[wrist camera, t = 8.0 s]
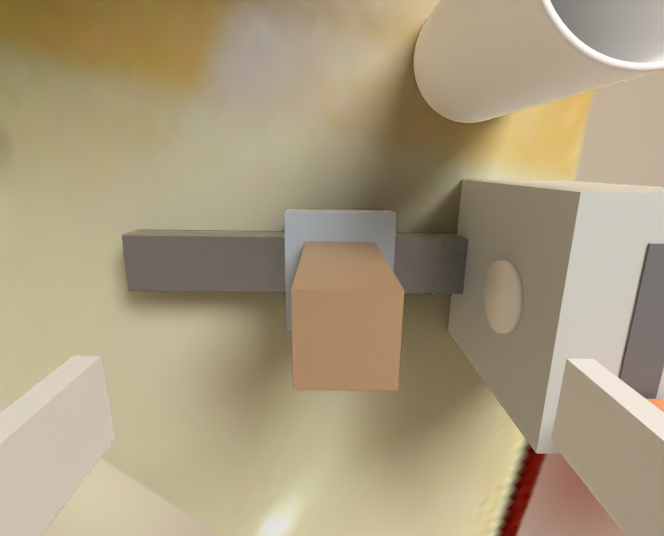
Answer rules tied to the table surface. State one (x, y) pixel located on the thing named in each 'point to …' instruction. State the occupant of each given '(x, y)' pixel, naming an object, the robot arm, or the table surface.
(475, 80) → the cup
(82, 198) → the table surface
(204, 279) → the rail
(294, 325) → the carriage
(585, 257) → the cabinet
